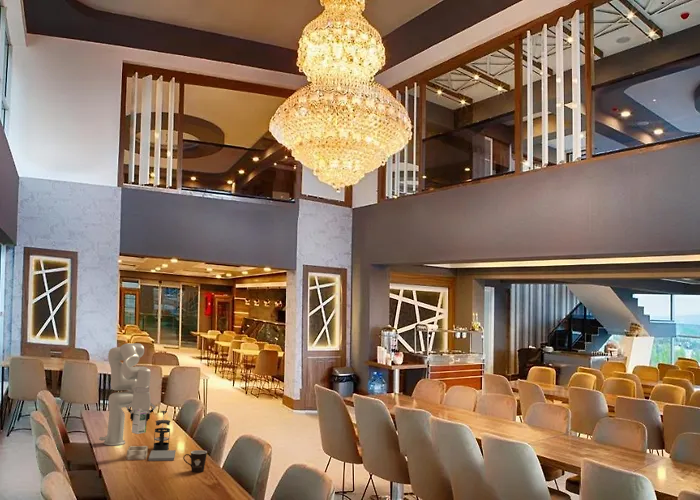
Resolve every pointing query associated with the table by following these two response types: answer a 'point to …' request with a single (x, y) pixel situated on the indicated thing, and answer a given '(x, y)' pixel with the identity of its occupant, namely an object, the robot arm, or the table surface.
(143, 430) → the syrup box
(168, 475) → the table surface
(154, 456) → the slate board
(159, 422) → the french press
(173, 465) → the table surface
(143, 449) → the frame
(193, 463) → the coffee mug
